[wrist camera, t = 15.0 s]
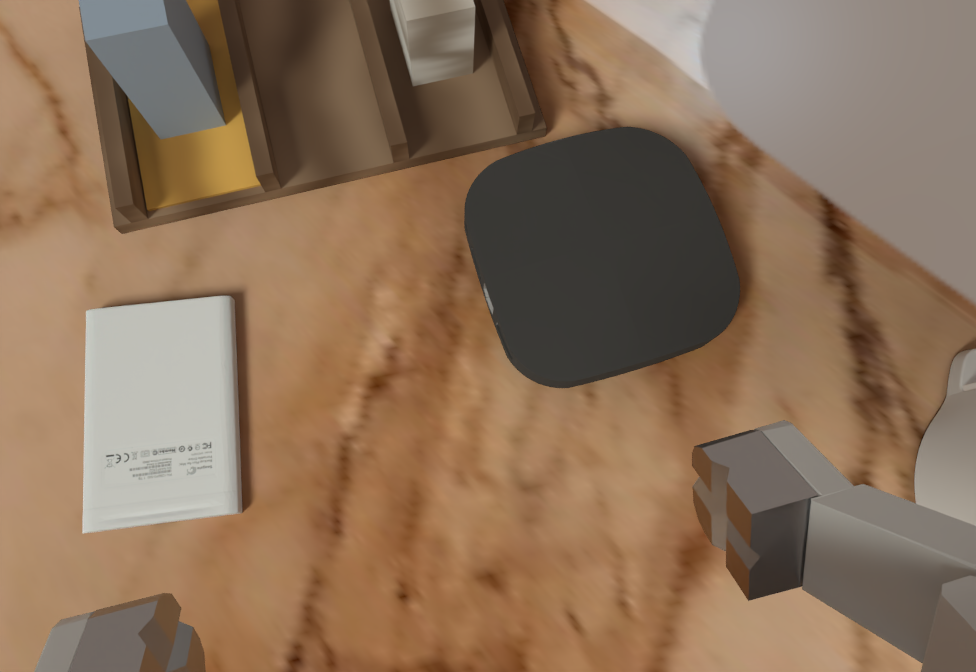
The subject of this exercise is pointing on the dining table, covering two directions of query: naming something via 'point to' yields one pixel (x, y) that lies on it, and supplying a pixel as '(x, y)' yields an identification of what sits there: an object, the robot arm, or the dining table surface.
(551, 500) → the dining table surface
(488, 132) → the rack
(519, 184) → the media streaming box
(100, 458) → the external hard drive
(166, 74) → the grey rectangular block
